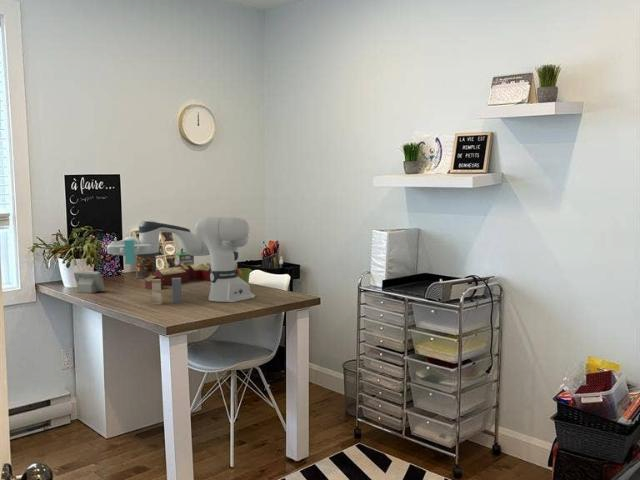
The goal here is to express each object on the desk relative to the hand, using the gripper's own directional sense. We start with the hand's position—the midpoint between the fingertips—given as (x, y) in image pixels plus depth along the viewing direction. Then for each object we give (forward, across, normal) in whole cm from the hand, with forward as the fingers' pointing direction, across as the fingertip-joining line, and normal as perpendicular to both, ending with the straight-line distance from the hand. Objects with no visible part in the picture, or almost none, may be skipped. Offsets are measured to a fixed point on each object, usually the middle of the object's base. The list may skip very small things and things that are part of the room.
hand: (129, 250), depth 285 cm
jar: (-71, -6, -24) cm, 76 cm away
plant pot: (-27, -56, -24) cm, 67 cm away
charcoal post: (+6, -21, -24) cm, 32 cm away
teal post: (-1, 0, -6) cm, 6 cm away
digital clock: (-33, +21, -24) cm, 46 cm away
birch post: (+8, -12, -24) cm, 28 cm away
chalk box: (-83, -29, -24) cm, 91 cm away
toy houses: (-46, -24, -25) cm, 57 cm away
